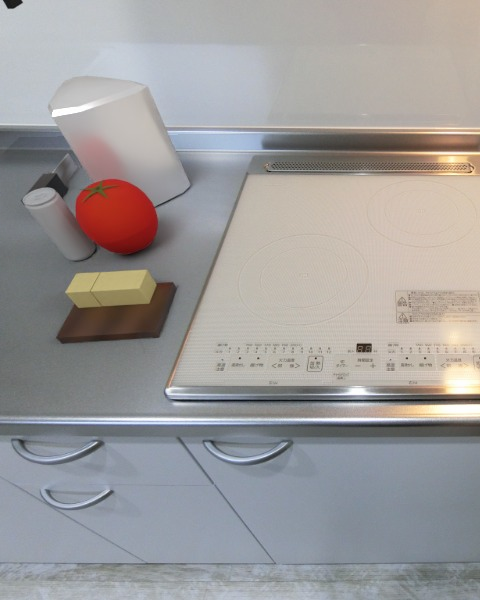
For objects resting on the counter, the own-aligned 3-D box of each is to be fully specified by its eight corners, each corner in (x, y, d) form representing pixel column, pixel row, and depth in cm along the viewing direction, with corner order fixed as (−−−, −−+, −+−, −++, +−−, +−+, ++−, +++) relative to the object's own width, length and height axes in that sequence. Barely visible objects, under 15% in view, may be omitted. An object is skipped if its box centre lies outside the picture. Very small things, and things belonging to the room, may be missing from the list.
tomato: (146, 219, 83) (112, 158, 73) (181, 240, 79) (150, 179, 69) (89, 252, 77) (44, 190, 67) (124, 277, 73) (81, 215, 63)
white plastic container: (193, 184, 90) (146, 73, 74) (151, 227, 81) (87, 111, 65) (130, 174, 93) (71, 65, 76) (83, 215, 84) (4, 100, 67)
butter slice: (78, 308, 66) (64, 292, 64) (88, 288, 69) (76, 273, 66) (102, 306, 66) (89, 291, 64) (111, 287, 69) (99, 271, 66)
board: (61, 343, 64) (55, 337, 63) (88, 293, 70) (83, 286, 69) (159, 337, 64) (154, 331, 63) (177, 288, 71) (173, 281, 70)
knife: (48, 217, 83) (34, 200, 80) (34, 218, 83) (20, 200, 80) (83, 168, 95) (73, 151, 92) (71, 169, 94) (60, 152, 91)
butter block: (102, 306, 66) (90, 291, 64) (112, 287, 69) (100, 271, 66) (149, 303, 67) (139, 288, 64) (157, 284, 69) (147, 269, 67)
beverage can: (62, 253, 77) (17, 195, 68) (91, 240, 79) (50, 183, 70) (72, 266, 74) (26, 209, 65) (101, 253, 77) (60, 195, 68)
